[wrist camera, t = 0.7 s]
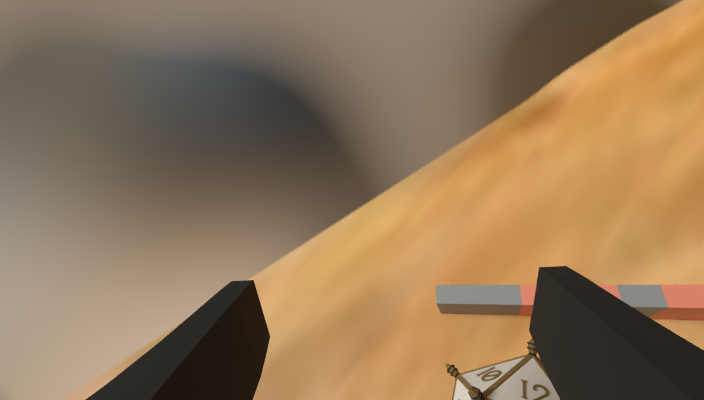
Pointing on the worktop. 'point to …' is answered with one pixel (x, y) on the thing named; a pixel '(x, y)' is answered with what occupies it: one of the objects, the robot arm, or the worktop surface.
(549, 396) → the game die
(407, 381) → the worktop surface
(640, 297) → the trap track
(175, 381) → the robot arm
